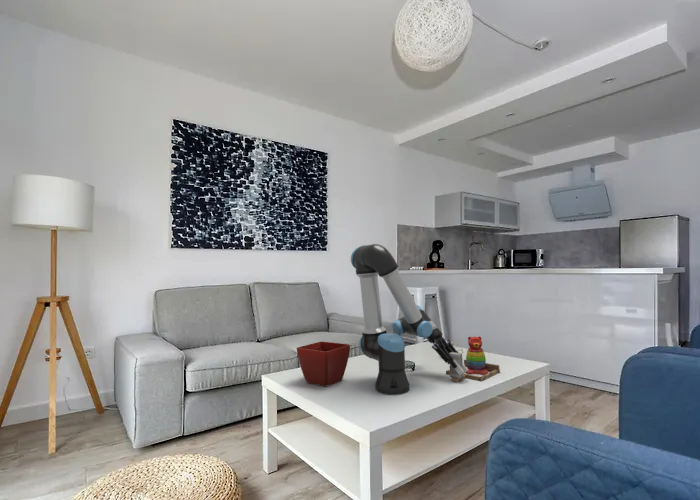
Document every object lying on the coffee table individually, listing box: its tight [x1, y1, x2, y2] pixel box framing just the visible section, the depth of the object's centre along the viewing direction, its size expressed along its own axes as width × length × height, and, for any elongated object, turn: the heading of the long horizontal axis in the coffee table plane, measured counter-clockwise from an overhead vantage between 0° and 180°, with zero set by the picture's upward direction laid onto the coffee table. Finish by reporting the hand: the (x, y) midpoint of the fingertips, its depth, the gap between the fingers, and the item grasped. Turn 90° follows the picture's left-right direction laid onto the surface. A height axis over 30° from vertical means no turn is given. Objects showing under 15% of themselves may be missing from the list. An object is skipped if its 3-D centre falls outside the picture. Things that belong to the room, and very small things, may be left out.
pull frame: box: [445, 352, 501, 383], centre depth 183 cm, size 28×18×12 cm, turn 135°
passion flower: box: [450, 340, 464, 354], centre depth 218 cm, size 11×11×12 cm
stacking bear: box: [464, 336, 489, 376], centre depth 188 cm, size 11×10×18 cm
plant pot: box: [296, 341, 351, 387], centre depth 180 cm, size 19×19×17 cm
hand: (463, 372), depth 172 cm, fingers closed on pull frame, 3 cm apart
